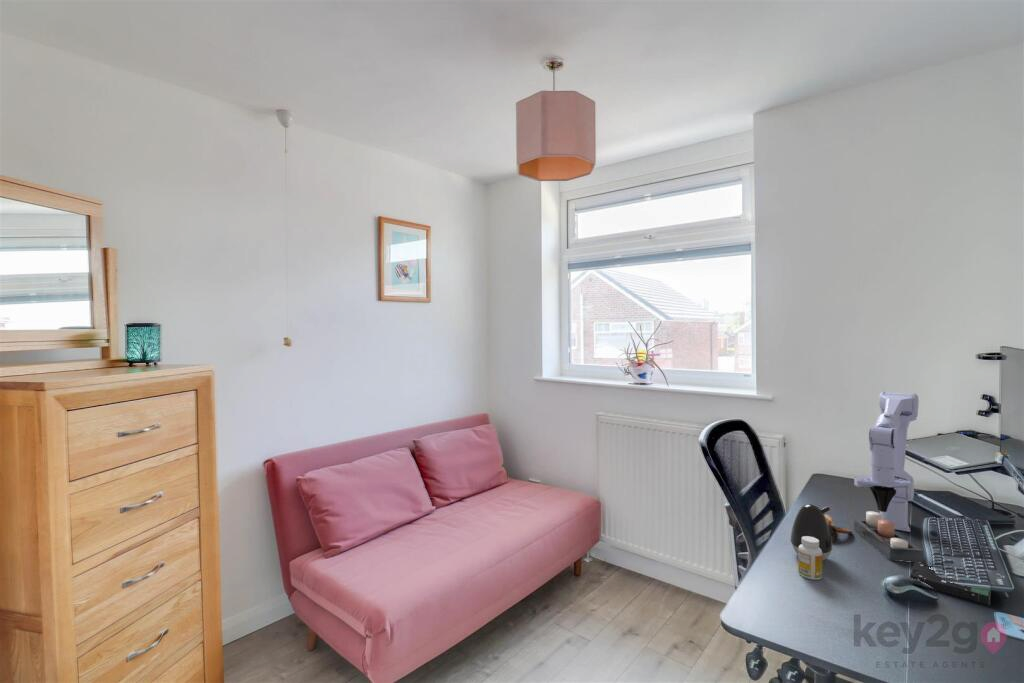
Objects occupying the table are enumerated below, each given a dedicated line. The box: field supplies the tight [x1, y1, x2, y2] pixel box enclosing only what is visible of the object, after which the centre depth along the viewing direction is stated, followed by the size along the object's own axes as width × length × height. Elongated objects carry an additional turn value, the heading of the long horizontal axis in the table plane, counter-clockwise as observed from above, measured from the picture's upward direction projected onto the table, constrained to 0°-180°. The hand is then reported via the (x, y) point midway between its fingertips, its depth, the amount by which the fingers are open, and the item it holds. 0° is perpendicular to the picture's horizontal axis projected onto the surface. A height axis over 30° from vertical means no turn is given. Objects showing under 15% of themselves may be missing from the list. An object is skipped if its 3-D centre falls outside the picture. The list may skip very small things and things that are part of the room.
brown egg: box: [878, 520, 896, 538], centre depth 146 cm, size 4×4×4 cm
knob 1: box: [865, 510, 882, 528], centre depth 153 cm, size 4×4×4 cm
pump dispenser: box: [790, 503, 834, 562], centre depth 139 cm, size 10×10×15 cm
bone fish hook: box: [824, 514, 852, 542], centre depth 155 cm, size 9×5×18 cm
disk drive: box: [909, 562, 992, 606], centre depth 123 cm, size 10×3×15 cm
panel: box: [853, 519, 924, 564], centre depth 146 cm, size 21×8×4 cm, turn 168°
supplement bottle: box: [797, 536, 823, 581], centre depth 129 cm, size 5×5×10 cm
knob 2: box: [890, 538, 908, 548], centre depth 139 cm, size 4×4×4 cm
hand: (882, 510), depth 148 cm, fingers closed
